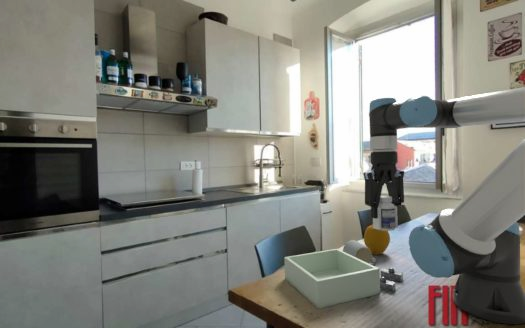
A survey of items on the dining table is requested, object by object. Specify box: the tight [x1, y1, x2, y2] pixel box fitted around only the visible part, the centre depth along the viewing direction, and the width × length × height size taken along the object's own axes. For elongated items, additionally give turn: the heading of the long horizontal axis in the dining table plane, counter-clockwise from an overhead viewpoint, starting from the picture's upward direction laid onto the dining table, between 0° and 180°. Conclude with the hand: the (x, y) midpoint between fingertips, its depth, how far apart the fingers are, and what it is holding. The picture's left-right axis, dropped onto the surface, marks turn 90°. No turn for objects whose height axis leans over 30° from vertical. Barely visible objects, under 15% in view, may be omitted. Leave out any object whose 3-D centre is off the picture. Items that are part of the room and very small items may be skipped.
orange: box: [363, 224, 391, 256], centre depth 113 cm, size 10×10×12 cm
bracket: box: [380, 267, 404, 293], centre depth 87 cm, size 11×6×3 cm, turn 140°
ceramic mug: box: [342, 239, 377, 264], centre depth 104 cm, size 11×8×8 cm
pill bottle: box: [379, 195, 396, 232], centre depth 86 cm, size 5×5×10 cm
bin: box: [283, 248, 381, 310], centre depth 86 cm, size 20×20×7 cm
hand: (385, 227), depth 87 cm, fingers closed on pill bottle, 5 cm apart
